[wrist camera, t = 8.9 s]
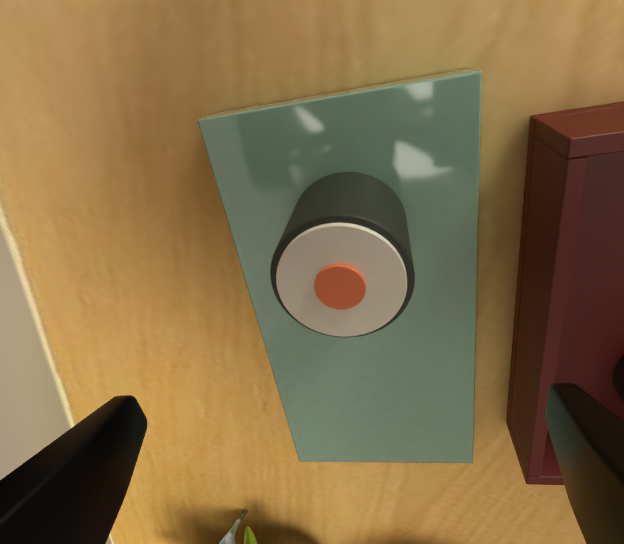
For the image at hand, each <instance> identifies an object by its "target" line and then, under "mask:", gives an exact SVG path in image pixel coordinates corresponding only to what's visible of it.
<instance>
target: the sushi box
mask: <svg viewBox="0 0 624 544" xmlns="http://www.w3.org/2000/svg"><path fill="white" fill-rule="evenodd" d="M623 356H624V102H620V103H613V104H606V105H600V106H593V107H586V108H579V109H573V110H566V111H559V112H553V113H546V114H539V115H533V116H531V118H530V128H529V141H528V154H527V167H526V180H525V192H524V205H523V218H522V231H521V244H520V256H519V269H518V282H517V295H516V308H515V320H514V333H513V346H512V359H511V372H510V384H509V397H508V410H507V426H508V429H509V432H510V435H511V438H512V442H513V445H514V448H515V451H516V454H517V457H518V460H519V463H520V466H521V469H522V472H523V475H524V478H525V481H526V484H542V485H564V481H563V478H562V475H561V471H560V468H559V465H558V461H557V458H556V455H555V451H554V448H553V444H552V441H551V438H550V434H549V431H548V428H547V424H546V418H545V411H546V404H547V397H548V390H549V387H550V385H551V384H554V383H573V384H576V385H578V386H579V387H580V388H582V389H583V390H584V391H585V392H587V393H588V394H589V395H591V396H592V397H593V398H594V399H596V400H597V401H598V402H600V403H601V404H602V405H603V406H605V407H606V408H607V409H609V410H610V411H611V412H612V413H614V414H615V415H616V416H618V417H619V418H620V419H621V420H623V421H624V402H623V401H622V399H621V397H620V396H619V394H618V393H617V391H616V389H615V388H614V384H613V374H614V370H615V368H616V366H617V364H618V363H619V361H620V360H621V359H622V357H623Z"/></svg>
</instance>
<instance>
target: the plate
mask: <svg viewBox="0 0 624 544" xmlns="http://www.w3.org/2000/svg"><path fill="white" fill-rule="evenodd" d="M481 83H482V72H481V71H480V70H478V69H475V68H468V69H463V70H457V71H451V72H446V73H440V74H434V75H429V76H423V77H417V78H412V79H406V80H400V81H395V82H389V83H383V84H378V85H372V86H366V87H361V88H355V89H349V90H343V91H338V92H332V93H326V94H321V95H315V96H309V97H304V98H298V99H292V100H287V101H281V102H275V103H270V104H264V105H258V106H253V107H247V108H241V109H235V110H230V111H224V112H218V113H213V114H208V115H206V116H205V117H203V118H201V119H199V120H198V123H199V127H200V130H201V134H202V137H203V140H204V144H205V147H206V150H207V154H208V157H209V160H210V164H211V167H212V170H213V174H214V177H215V180H216V184H217V187H218V190H219V194H220V197H221V200H222V204H223V207H224V210H225V214H226V217H227V220H228V224H229V227H230V231H231V234H232V237H233V241H234V244H235V247H236V251H237V254H238V257H239V261H240V264H241V267H242V271H243V274H244V277H245V281H246V284H247V287H248V291H249V294H250V297H251V301H252V304H253V307H254V311H255V314H256V317H257V321H258V324H259V328H260V331H261V334H262V338H263V341H264V344H265V348H266V351H267V354H268V358H269V361H270V364H271V368H272V371H273V374H274V378H275V381H276V384H277V388H278V391H279V394H280V398H281V401H282V404H283V408H284V411H285V414H286V418H287V421H288V424H289V428H290V431H291V435H292V438H293V441H294V445H295V448H296V451H297V455H298V458H299V461H302V462H399V463H473V446H474V401H475V355H476V310H477V265H478V219H479V174H480V129H481ZM339 172H358V173H363V174H367V175H370V176H372V177H375V178H377V179H379V180H380V181H382V182H383V183H385V184H386V185H387V186H389V187H390V188H391V189H392V190H393V191H394V192H395V194H396V195H397V196H398V198H399V199H400V201H401V203H402V205H403V207H404V210H405V214H406V219H407V226H408V232H409V239H410V245H411V252H412V258H413V265H414V272H415V285H414V290H413V294H412V297H411V299H410V301H409V303H408V305H407V307H406V308H405V309H404V311H403V312H402V313H401V315H400V316H399V317H398V318H397V319H396V320H394V321H393V322H392V323H391V324H389V325H388V326H386V327H384V328H383V329H381V330H379V331H376V332H374V333H371V334H368V335H364V336H359V337H332V336H328V335H323V334H320V333H317V332H314V331H312V330H310V329H308V328H306V327H304V326H302V325H301V324H299V323H298V322H297V321H295V320H294V319H293V318H292V317H291V316H290V315H288V313H287V312H286V311H285V310H284V309H283V308H282V306H281V305H280V303H279V302H278V300H277V298H276V296H275V293H274V290H273V288H272V283H271V277H270V268H271V261H272V258H273V254H274V252H275V250H276V247H277V245H278V243H279V241H280V239H281V237H282V234H283V232H284V230H285V228H286V226H287V223H288V221H289V219H290V217H291V215H292V212H293V210H294V208H295V206H296V204H297V201H298V200H299V198H300V196H301V195H302V194H303V192H304V191H305V190H306V189H307V188H308V187H309V186H310V185H311V184H313V183H314V182H316V181H317V180H319V179H321V178H323V177H325V176H328V175H331V174H334V173H339Z"/></svg>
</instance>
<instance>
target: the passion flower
mask: <svg viewBox="0 0 624 544" xmlns="http://www.w3.org/2000/svg"><path fill="white" fill-rule="evenodd" d="M247 512H248V511H246V510H244V511H243V513H242V514H241V516H240V517H239V518H238V519H237V520H236V522H235V523H234V524H233V526H232V527H231V529H230V530H229V531H228V533H227V534H226V535H225V536H224V538H223V539H222V540H221V541H220V543H219V544H236V542H235V533H236V530H237V528H238V526H239V524H240V522H241V520H242V519H243V518H244V516H245V514H246V513H247ZM243 544H258V543H257V540H256V538H255V535H254V534H253V532H252V530H251V529H250V527H249V526H248V527H246V529H245V530H244V542H243Z"/></svg>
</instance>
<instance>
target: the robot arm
mask: <svg viewBox="0 0 624 544" xmlns="http://www.w3.org/2000/svg"><path fill="white" fill-rule="evenodd" d="M545 418H546V424H547V428H548V431H549V434H550V438H551V441H552V444H553V448H554V451H555V455H556V458H557V461H558V465H559V468H560V471H561V475H562V478H563V481H564V485H565V488H566V491H567V495H568V498H569V501H570V504H571V507H572V509H573V512H574V514H575V517H576V519H577V522H578V524H579V527H580V529H581V531H582V534H583V536H584V538H585V541H586V543H587V544H624V421H623V420H621V419H620V418H619V417H618V416H616V415H615V414H614V413H612V412H611V411H610V410H609V409H607V408H606V407H605V406H603V405H602V404H601V403H600V402H598V401H597V400H596V399H594V398H593V397H592V396H591V395H589V394H588V393H587V392H585V391H584V390H583V389H582V388H580V387H579V386H578V385H576V384H573V383H554V384H551V385H550V387H549V390H548V397H547V404H546V411H545ZM146 430H147V419H146V416H145V414H144V413H143V411H142V409H141V407H140V405H139V403H138V402H137V400H136V398H135V397H133V396H131V395H127V396H116V397H114V398H112V399H111V400H109V401H108V402H107V403H105V404H104V405H103V406H101V407H100V408H98V409H97V410H96V411H94V412H93V413H92V414H90V415H89V416H88V417H86V418H85V419H83V420H82V421H81V422H79V423H78V424H77V425H75V426H74V427H73V428H71V429H70V430H68V431H67V432H66V433H64V434H63V435H62V436H60V437H59V438H58V439H56V440H55V441H53V442H52V443H51V444H49V445H48V446H47V447H45V448H44V449H43V450H41V451H40V452H38V453H37V454H36V455H34V456H33V457H32V458H30V459H29V460H27V461H26V462H25V463H23V464H22V465H21V466H19V467H18V468H17V469H15V470H14V471H13V472H11V473H10V474H9V475H7V476H6V477H4V478H3V479H2V480H0V544H105V543H106V541H107V539H108V536H109V534H110V531H111V529H112V527H113V524H114V522H115V519H116V517H117V515H118V512H119V510H120V508H121V505H122V503H123V500H124V498H125V495H126V492H127V489H128V486H129V484H130V481H131V477H132V474H133V471H134V468H135V465H136V462H137V458H138V455H139V452H140V449H141V446H142V443H143V439H144V436H145V433H146Z"/></svg>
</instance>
